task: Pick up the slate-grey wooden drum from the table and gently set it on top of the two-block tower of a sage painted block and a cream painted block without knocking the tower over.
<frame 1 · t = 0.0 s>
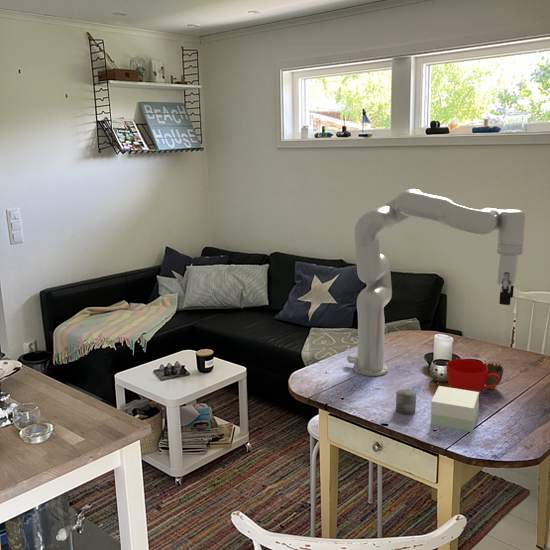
hand: (506, 300, 195), 31 cm above the table, tool pointing down, fingers open, 9 cm apart
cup: (490, 389, 203), on the table
slate drum: (405, 410, 188), on the table
tower base block: (454, 421, 181), on the table, touching tower top block
ceramic cup: (471, 395, 198), on the table
tower top block: (454, 408, 181), point 3 cm above the table, touching tower base block
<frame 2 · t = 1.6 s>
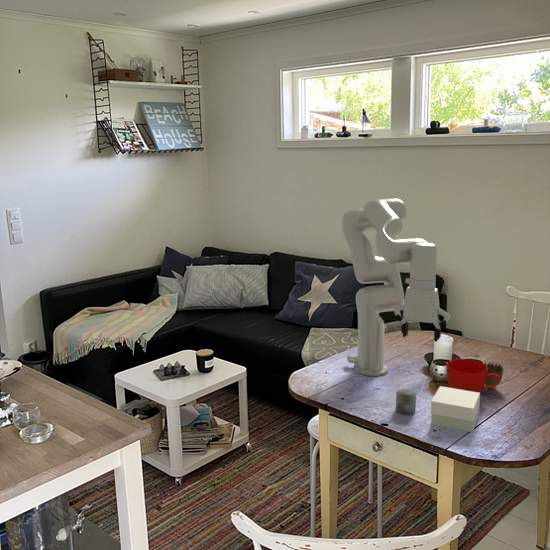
hand: (420, 338, 184), 23 cm above the table, tool pointing down, fingers open, 9 cm apart
nothing on the table moved.
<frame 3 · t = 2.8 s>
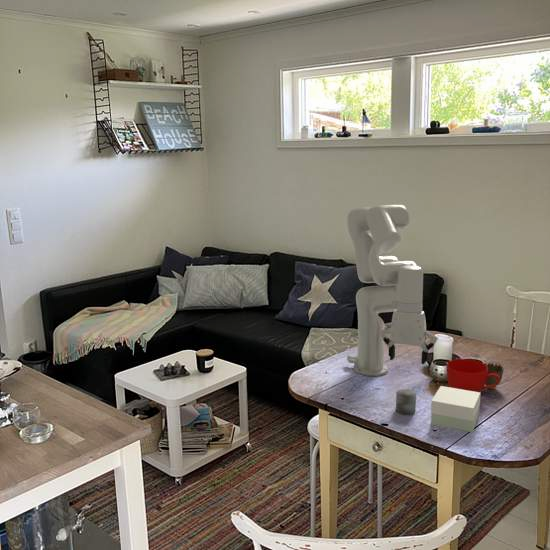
hand: (407, 360, 184), 17 cm above the table, tool pointing down, fingers open, 9 cm apart
nothing on the table moved.
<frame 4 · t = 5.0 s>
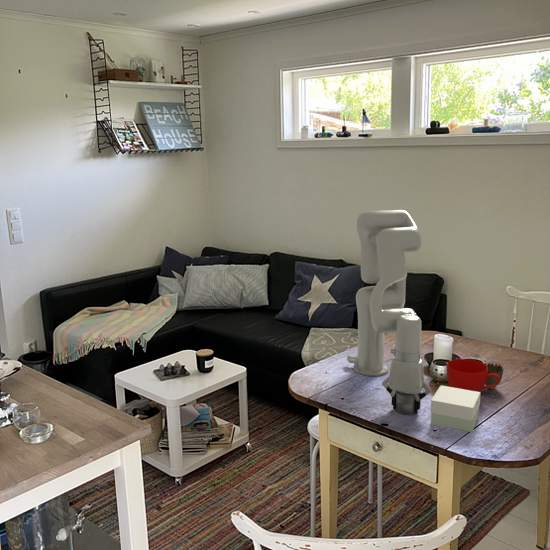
hand: (405, 408, 188), 1 cm above the table, tool pointing down, fingers closed on slate drum, 6 cm apart
slate drum: (405, 410, 188), on the table, touching gripper
everything else where it was.
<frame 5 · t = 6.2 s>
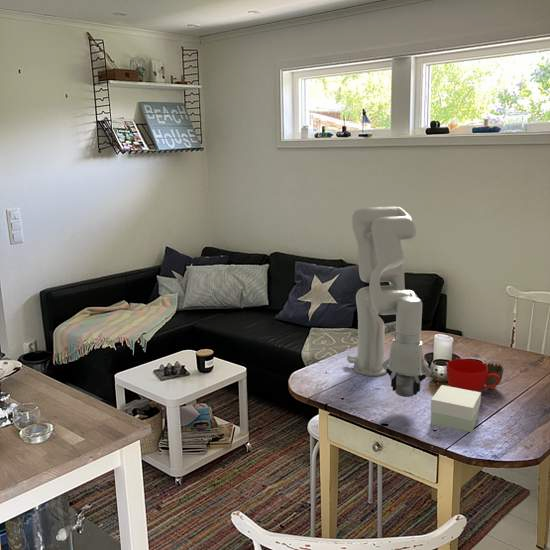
hand: (405, 390, 187), 6 cm above the table, tool pointing down, fingers closed on slate drum, 6 cm apart
slate drum: (405, 392, 187), point 6 cm above the table, touching gripper
everything else where it was.
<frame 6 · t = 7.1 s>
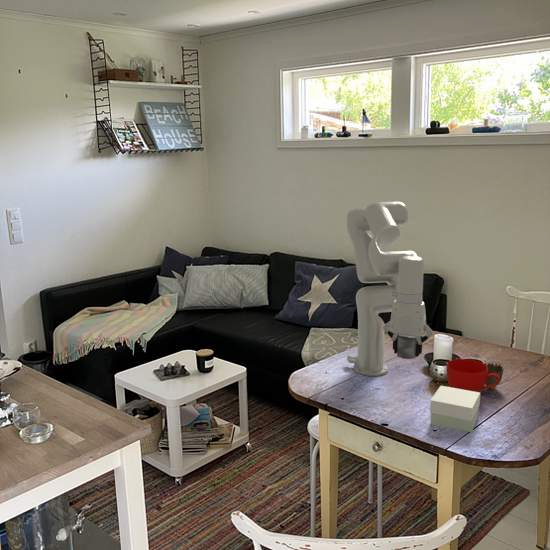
hand: (407, 353, 184), 19 cm above the table, tool pointing down, fingers closed on slate drum, 6 cm apart
slate drum: (406, 355, 184), point 18 cm above the table, touching gripper
everything else where it was.
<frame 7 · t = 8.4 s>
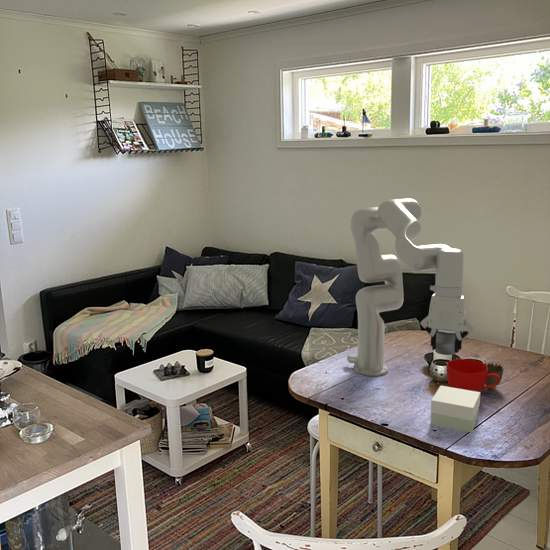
hand: (445, 349, 178), 22 cm above the table, tool pointing down, fingers closed on slate drum, 6 cm apart
slate drum: (445, 351, 178), point 21 cm above the table, touching gripper
everything else where it was.
when the fingers open (9 cm above the table, at t = 13.1 s): slate drum moves 1 cm, resting on tower top block.
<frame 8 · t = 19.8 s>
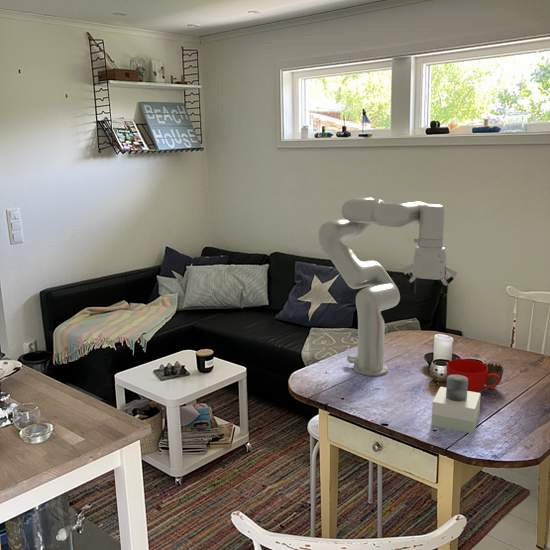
hand: (428, 294, 195), 33 cm above the table, tool pointing down, fingers open, 9 cm apart
slate drum: (456, 397, 179), point 8 cm above the table, touching tower top block
tower top block: (456, 409, 180), point 4 cm above the table, touching slate drum, tower base block
everything else where it was.
at the end: slate drum inside the target area on the tower base block (0.2 cm from its centre), point 8.1 cm above the tower base block's base; tower top block 0.0 cm off-centre on the tower base block, point 4.0 cm above the tower base block's base; slate drum tilted 2° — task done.
